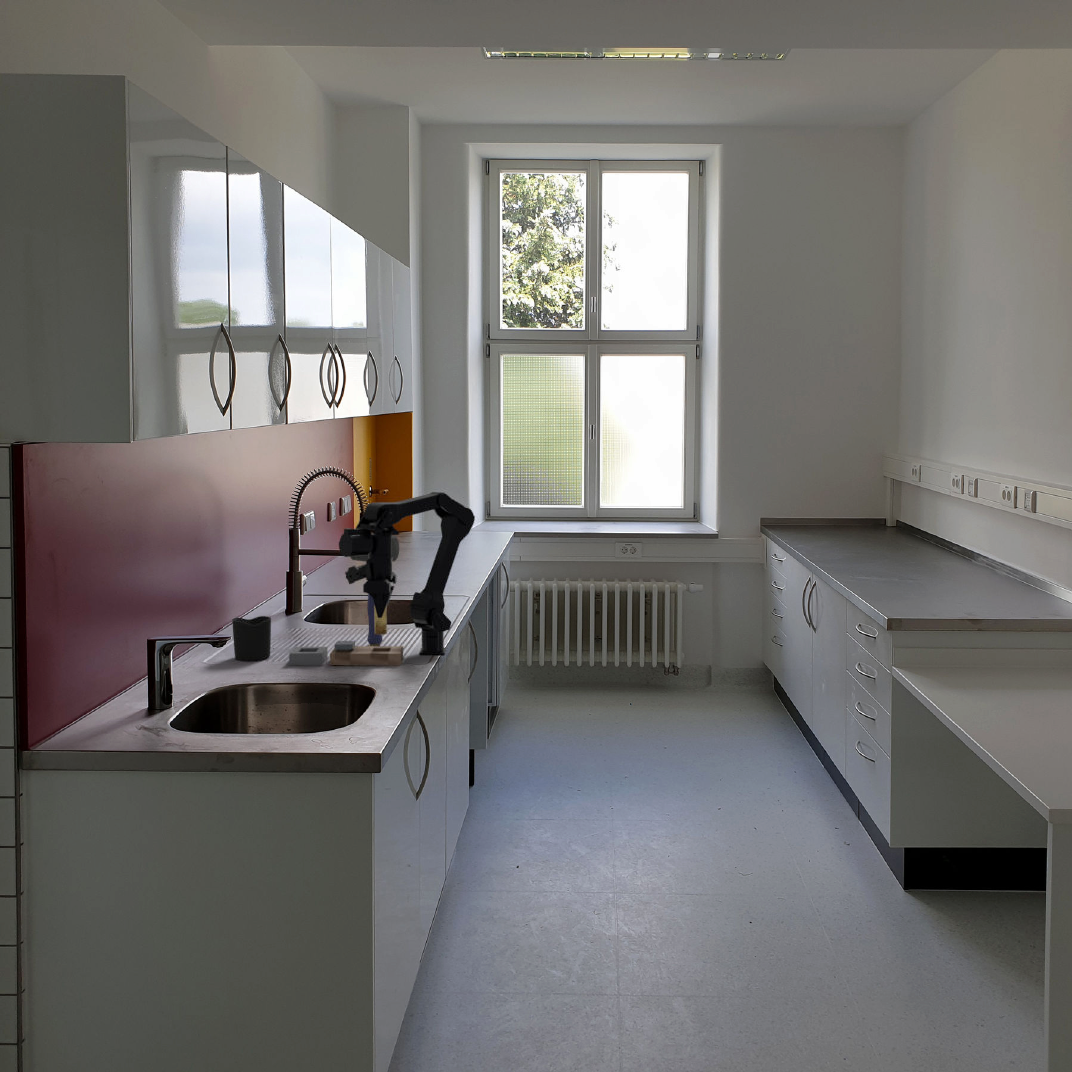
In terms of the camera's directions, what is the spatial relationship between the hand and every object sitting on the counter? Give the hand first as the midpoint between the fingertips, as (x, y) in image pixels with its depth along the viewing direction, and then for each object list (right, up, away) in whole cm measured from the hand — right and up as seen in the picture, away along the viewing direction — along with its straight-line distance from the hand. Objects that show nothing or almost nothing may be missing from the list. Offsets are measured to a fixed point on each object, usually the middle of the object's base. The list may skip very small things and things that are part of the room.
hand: (380, 616), depth 263 cm
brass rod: (0, -4, 0) cm, 4 cm away
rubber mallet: (-5, -10, +21) cm, 24 cm away
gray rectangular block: (-9, -11, +1) cm, 14 cm away
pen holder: (-33, -11, +5) cm, 35 cm away
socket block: (-4, -11, +1) cm, 12 cm away
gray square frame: (-18, -11, +1) cm, 21 cm away
